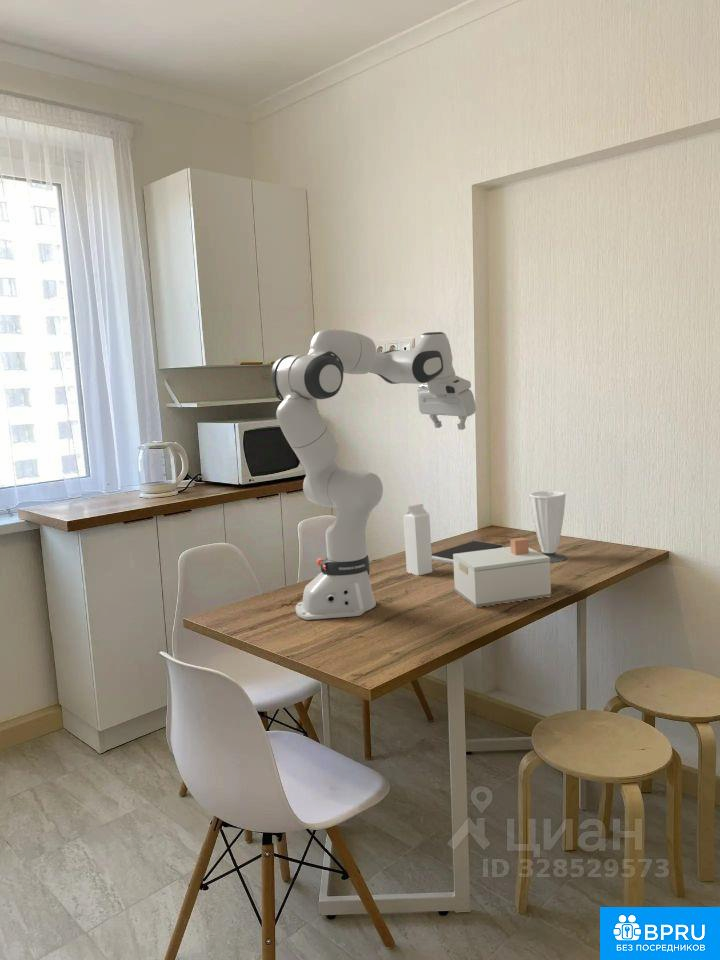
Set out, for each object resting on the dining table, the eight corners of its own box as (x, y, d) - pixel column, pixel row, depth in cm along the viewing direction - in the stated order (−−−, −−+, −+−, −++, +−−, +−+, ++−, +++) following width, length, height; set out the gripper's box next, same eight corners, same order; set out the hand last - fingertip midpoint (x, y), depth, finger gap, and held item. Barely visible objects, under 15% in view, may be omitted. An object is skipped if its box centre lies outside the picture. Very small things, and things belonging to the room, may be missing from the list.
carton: (475, 608, 191) (473, 571, 190) (454, 591, 207) (452, 558, 205) (551, 596, 196) (549, 561, 194) (524, 581, 211) (523, 548, 210)
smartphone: (504, 549, 253) (504, 544, 253) (455, 565, 236) (455, 560, 235) (475, 544, 263) (474, 540, 263) (425, 560, 245) (425, 555, 245)
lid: (474, 571, 190) (473, 552, 189) (453, 557, 205) (452, 540, 204) (549, 560, 194) (549, 543, 194) (523, 548, 210) (523, 531, 209)
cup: (532, 553, 242) (530, 491, 239) (567, 553, 239) (565, 490, 236) (530, 562, 231) (528, 497, 228) (567, 562, 228) (565, 496, 225)
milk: (406, 572, 230) (401, 505, 227) (421, 568, 233) (416, 502, 230) (418, 576, 225) (414, 507, 222) (433, 572, 228) (428, 504, 225)
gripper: (410, 387, 220) (418, 429, 225) (461, 388, 205) (469, 433, 209) (423, 381, 224) (431, 423, 228) (474, 381, 209) (482, 426, 213)
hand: (450, 428), depth 219 cm, fingers open, 8 cm apart
